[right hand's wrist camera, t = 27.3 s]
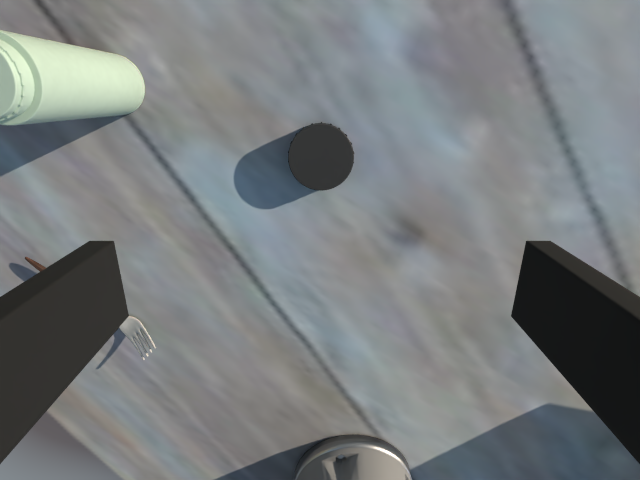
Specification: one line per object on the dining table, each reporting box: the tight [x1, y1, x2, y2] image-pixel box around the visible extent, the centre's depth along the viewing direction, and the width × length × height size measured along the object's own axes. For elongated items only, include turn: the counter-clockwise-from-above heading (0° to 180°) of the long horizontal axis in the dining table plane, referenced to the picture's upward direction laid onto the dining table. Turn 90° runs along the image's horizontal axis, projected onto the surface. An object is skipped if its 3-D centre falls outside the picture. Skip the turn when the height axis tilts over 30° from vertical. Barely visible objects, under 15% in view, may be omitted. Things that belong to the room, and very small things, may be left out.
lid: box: [288, 122, 354, 190], centre depth 36 cm, size 6×6×2 cm
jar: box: [0, 30, 145, 126], centre depth 27 cm, size 5×5×15 cm
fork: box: [25, 257, 156, 360], centre depth 41 cm, size 3×16×2 cm, turn 47°
